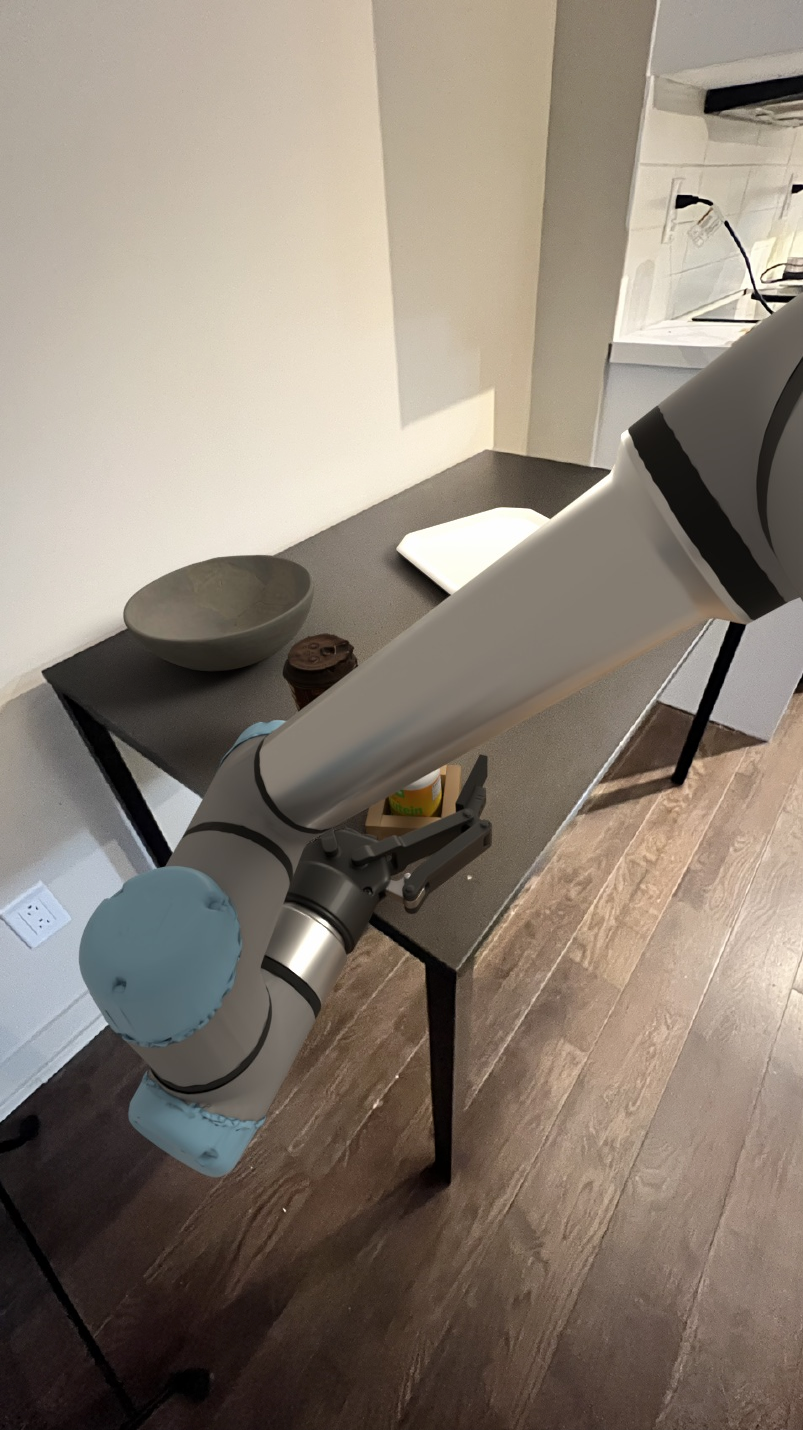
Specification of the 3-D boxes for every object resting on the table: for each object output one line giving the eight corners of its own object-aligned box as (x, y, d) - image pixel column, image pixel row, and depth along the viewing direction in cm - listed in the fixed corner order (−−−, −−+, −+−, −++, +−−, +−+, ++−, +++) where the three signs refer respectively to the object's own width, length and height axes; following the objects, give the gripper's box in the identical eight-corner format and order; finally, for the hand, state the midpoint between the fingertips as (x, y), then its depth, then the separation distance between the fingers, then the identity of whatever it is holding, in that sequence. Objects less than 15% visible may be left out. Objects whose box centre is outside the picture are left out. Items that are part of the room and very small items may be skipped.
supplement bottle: (383, 827, 64) (372, 758, 58) (402, 790, 68) (394, 722, 62) (432, 839, 62) (426, 770, 56) (449, 801, 66) (445, 732, 60)
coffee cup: (385, 730, 76) (373, 640, 67) (345, 774, 71) (326, 682, 62) (329, 710, 80) (311, 623, 71) (287, 750, 75) (262, 660, 66)
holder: (461, 784, 68) (461, 765, 66) (456, 850, 61) (455, 830, 59) (382, 781, 69) (379, 762, 67) (368, 845, 62) (364, 825, 61)
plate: (618, 566, 102) (620, 554, 101) (466, 618, 94) (466, 605, 93) (517, 512, 123) (518, 501, 122) (385, 550, 115) (384, 539, 113)
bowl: (110, 671, 91) (82, 611, 85) (239, 591, 107) (224, 536, 101) (234, 727, 79) (212, 662, 72) (360, 627, 95) (351, 567, 88)
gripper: (192, 907, 54) (315, 749, 68) (464, 1017, 45) (540, 807, 59) (163, 852, 49) (303, 695, 64) (461, 963, 40) (545, 749, 54)
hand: (417, 749), depth 61 cm, fingers open, 13 cm apart
